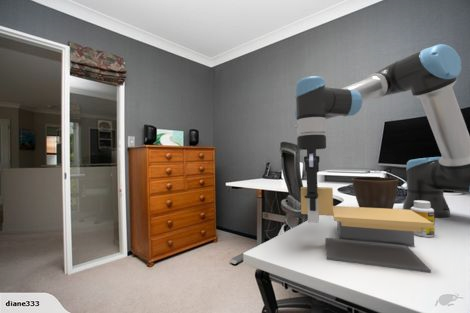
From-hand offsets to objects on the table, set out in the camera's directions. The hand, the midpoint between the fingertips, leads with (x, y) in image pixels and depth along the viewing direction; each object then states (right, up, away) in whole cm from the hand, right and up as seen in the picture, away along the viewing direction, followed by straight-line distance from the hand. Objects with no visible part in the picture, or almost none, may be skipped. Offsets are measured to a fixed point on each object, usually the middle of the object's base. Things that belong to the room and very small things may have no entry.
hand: (313, 220), depth 61 cm
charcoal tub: (+20, -7, +7) cm, 23 cm away
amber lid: (+10, +1, -4) cm, 10 cm away
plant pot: (+32, -7, +23) cm, 40 cm away
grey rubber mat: (+12, -7, -5) cm, 15 cm away
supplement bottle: (+36, -7, +7) cm, 38 cm away
